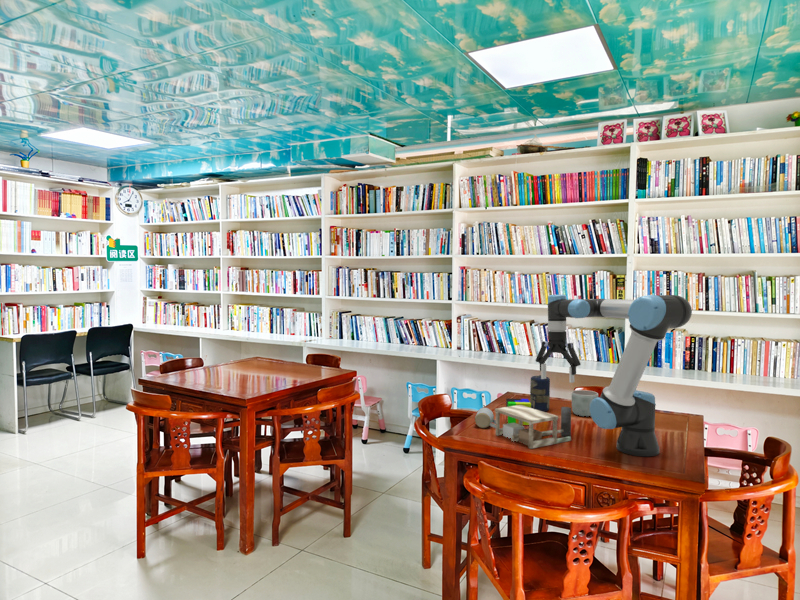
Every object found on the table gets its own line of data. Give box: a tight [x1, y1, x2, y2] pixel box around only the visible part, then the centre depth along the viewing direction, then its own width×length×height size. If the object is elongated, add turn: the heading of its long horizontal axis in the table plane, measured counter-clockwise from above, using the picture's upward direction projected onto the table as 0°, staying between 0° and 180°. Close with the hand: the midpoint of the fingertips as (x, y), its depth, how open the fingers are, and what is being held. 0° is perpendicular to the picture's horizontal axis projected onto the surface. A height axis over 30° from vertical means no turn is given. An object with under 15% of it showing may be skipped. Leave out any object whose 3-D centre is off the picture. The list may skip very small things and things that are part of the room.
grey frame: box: [518, 406, 572, 447], centre depth 219 cm, size 25×6×12 cm, turn 119°
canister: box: [529, 374, 551, 412], centre depth 268 cm, size 10×10×18 cm
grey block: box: [502, 423, 525, 440], centre depth 223 cm, size 6×6×5 cm
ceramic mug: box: [474, 407, 496, 429], centre depth 238 cm, size 11×8×8 cm
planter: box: [570, 389, 599, 418], centre depth 259 cm, size 12×12×11 cm
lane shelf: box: [494, 405, 572, 450], centre depth 221 cm, size 22×22×11 cm
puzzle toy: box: [505, 397, 531, 425], centre depth 245 cm, size 10×10×10 cm
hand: (557, 380), depth 227 cm, fingers open, 13 cm apart
